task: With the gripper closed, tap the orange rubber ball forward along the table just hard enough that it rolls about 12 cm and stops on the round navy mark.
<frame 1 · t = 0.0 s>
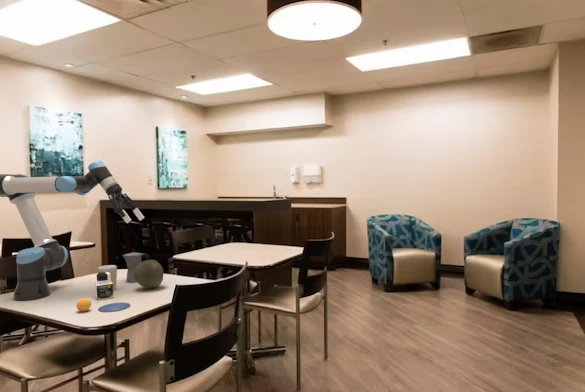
hand: (135, 220, 203), 36 cm above the table, tool tilted 35°, fingers open, 13 cm apart
ball: (83, 304, 171), on the table
coffee cup: (108, 290, 206), on the table
medicine bottle: (104, 297, 192), on the table
coffeepot: (136, 281, 224), on the table
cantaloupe: (149, 289, 206), on the table
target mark: (114, 307, 175), on the table
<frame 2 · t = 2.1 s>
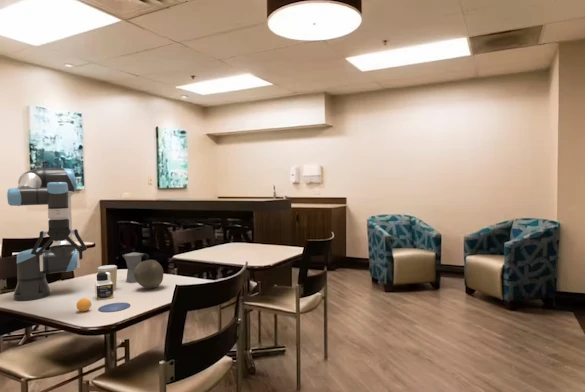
hand: (60, 269, 167), 19 cm above the table, tool pointing down, fingers open, 13 cm apart
nothing on the table moved.
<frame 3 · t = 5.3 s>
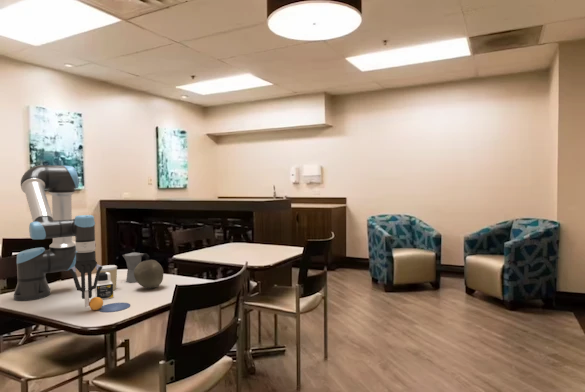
hand: (87, 305, 171), 2 cm above the table, tool pointing down, fingers closed
ball: (96, 303, 172), on the table, touching gripper
everything else where it was.
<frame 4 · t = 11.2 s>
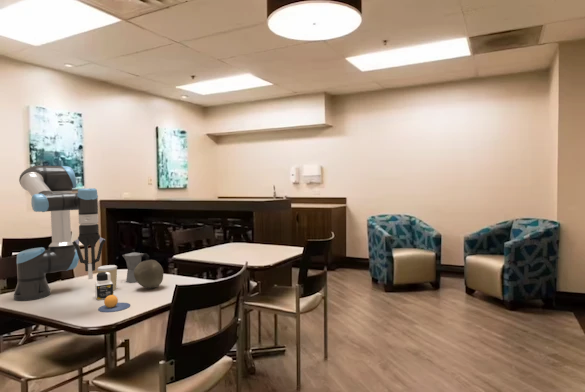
hand: (90, 278, 171), 14 cm above the table, tool pointing down, fingers closed
ball: (111, 301, 175), on the table
everything else where it was.
at the end: ball 1.4 cm from the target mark (horizontally); ball at rest at the end (0.0 cm/s); ball moved 10.7 cm from its start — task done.
